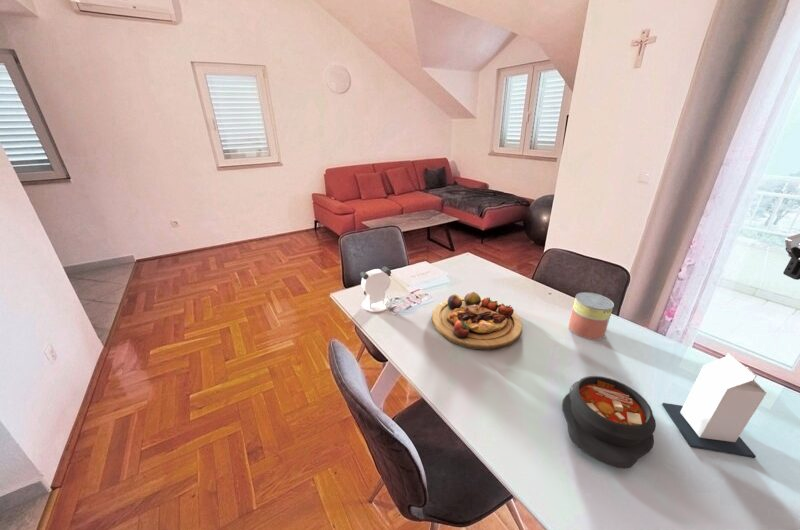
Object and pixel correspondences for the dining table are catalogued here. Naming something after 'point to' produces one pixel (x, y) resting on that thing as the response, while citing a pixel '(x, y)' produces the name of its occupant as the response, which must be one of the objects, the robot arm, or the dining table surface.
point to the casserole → (609, 421)
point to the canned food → (590, 315)
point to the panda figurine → (375, 289)
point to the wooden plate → (477, 322)
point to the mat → (704, 443)
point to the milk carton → (722, 400)
